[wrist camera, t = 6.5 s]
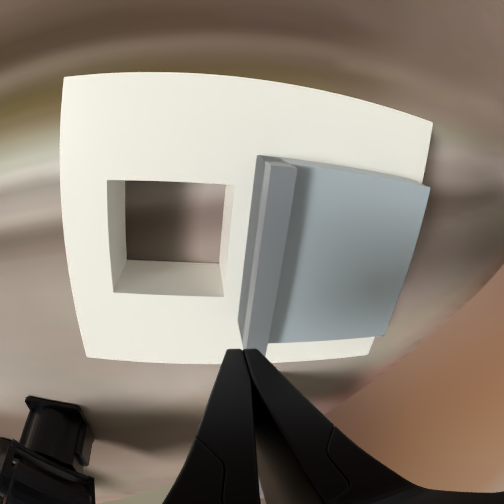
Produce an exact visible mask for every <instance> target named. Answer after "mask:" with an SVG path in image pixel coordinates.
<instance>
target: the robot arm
mask: <svg viewBox="0 0 504 504" xmlns="http://www.w3.org/2000/svg"><path fill="white" fill-rule="evenodd" d="M25 402H26V404H27V406H28V408H29V409H30V412H29V414H28V417H27V420H26V423H25V426H24V429H23V432H22V435H21V438H20V441H19V443H18V441H16V440H14V439H13V441H12V443H11V442H7V441H4V444H3V447H2V450H1V453H0V495H1V496H3V497H4V501H3V504H95V486H94V478H93V477H90V476H86V475H83V468H84V466H88V465H89V460H90V454H91V448H92V443H93V442H94V438H93V437H94V436H93V434H92V431H91V429H90V427H89V425H88V423H87V422H86V420H85V418H84V416H83V413H82V411H81V409H80V408H79V407H78V406H74V405H68V404H62V403H57V402H52V401H46V400H41V399H37V398H32V397H26V399H25ZM333 426H334V425H333V423H331V422H330V421H329V420H328V419H327V418H326V417H325V416H324V415H323V414H322V413H321V412H320V411H319V410H318V409H317V408H316V407H315V406H314V405H313V404H312V403H311V402H310V401H309V400H308V399H307V398H305V397H304V396H303V395H302V394H301V393H300V392H299V391H298V390H297V389H296V388H295V387H294V386H293V385H292V384H291V383H290V382H289V381H288V380H287V379H286V378H285V377H284V376H283V375H282V374H281V373H280V372H279V371H278V370H277V369H276V367H275V366H274V365H273V364H272V363H271V362H270V361H269V360H268V359H267V358H266V357H265V356H264V355H263V354H262V353H261V352H260V351H259V350H258V349H256V348H247V349H243V350H241V349H227V350H226V353H225V355H224V358H223V361H222V364H221V367H220V369H219V372H218V375H217V378H216V380H215V383H214V386H213V389H212V392H211V394H210V397H209V400H208V403H207V405H206V408H205V411H204V414H203V417H202V419H201V422H200V425H199V428H198V430H197V433H196V436H195V439H194V441H193V443H192V446H191V449H190V451H189V454H188V456H187V459H186V461H185V463H184V466H183V468H182V470H181V472H180V473H179V475H178V477H177V479H176V481H175V483H174V485H173V486H172V488H171V490H170V492H169V493H168V495H167V497H166V498H165V500H164V502H163V503H162V504H261V503H260V490H259V480H260V484H261V487H262V491H263V494H264V498H265V501H266V504H504V491H503V492H496V493H473V492H455V491H442V490H432V489H427V488H423V487H420V486H417V485H415V484H413V483H411V482H409V481H408V480H406V479H404V478H402V477H401V476H400V475H398V474H397V473H395V472H394V471H392V470H391V469H389V468H388V467H386V466H385V465H383V464H382V463H380V462H379V461H378V460H376V459H375V458H373V457H372V456H370V455H369V454H368V453H366V452H365V451H364V450H362V449H361V448H360V447H358V446H357V445H356V444H355V443H354V442H353V441H351V440H350V439H349V438H348V437H347V436H346V435H344V434H343V433H342V432H341V431H340V430H339V429H338V428H337V427H336V426H334V427H333ZM13 461H14V462H16V463H15V464H14V463H13ZM258 477H259V478H258Z"/></svg>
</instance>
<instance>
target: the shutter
mask: <svg viewBox="0 0 504 504" xmlns="http://www.w3.org/2000/svg"><path fill="white" fill-rule="evenodd" d="M430 188H431V187H428V186H426V185H424V184H421V183H419V182H417V181H414V180H412V179H409V178H405V177H400V176H396V175H390V174H385V173H380V172H375V171H369V170H364V169H358V168H352V167H346V166H340V165H333V164H327V163H320V162H313V161H305V160H298V159H290V158H281V157H272V156H263V155H257V158H256V166H255V174H254V183H253V191H252V200H251V208H250V216H249V225H248V233H247V242H246V251H245V259H244V268H243V277H242V285H241V294H240V303H239V312H238V320H237V321H238V326H239V331H240V335H241V340H242V345H243V349H247V348H256V349H258V350H259V351H260V352H261V353H262V354H263V355H264V356H265V355H266V350H267V345H268V343H294V342H313V341H329V340H343V339H355V338H366V337H376V336H384V334H385V331H386V329H387V326H388V324H389V321H390V319H391V316H392V314H393V311H394V308H395V306H396V303H397V300H398V298H399V295H400V292H401V289H402V286H403V283H404V280H405V277H406V274H407V271H408V268H409V265H410V262H411V259H412V256H413V252H414V249H415V246H416V242H417V239H418V235H419V232H420V228H421V224H422V221H423V217H424V213H425V209H426V205H427V201H428V197H429V192H430Z"/></svg>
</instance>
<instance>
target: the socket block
mask: <svg viewBox="0 0 504 504" xmlns="http://www.w3.org/2000/svg"><path fill="white" fill-rule="evenodd" d="M432 125H433V122H430V121H427V120H424V119H422V118H419V117H416V116H413V115H410V114H407V113H404V112H401V111H398V110H395V109H391V108H388V107H385V106H381V105H378V104H375V103H371V102H367V101H364V100H360V99H356V98H352V97H348V96H344V95H340V94H336V93H331V92H327V91H322V90H317V89H313V88H308V87H302V86H297V85H291V84H285V83H279V82H273V81H266V80H259V79H251V78H243V77H234V76H223V75H211V74H196V73H173V72H129V73H106V74H92V75H80V76H71V77H64V83H63V93H62V106H61V124H60V187H61V205H62V218H63V229H64V239H65V248H66V255H67V263H68V269H69V276H70V282H71V288H72V293H73V299H74V304H75V309H76V314H77V318H78V323H79V327H80V332H81V336H82V340H83V344H84V348H85V352H86V356H87V357H91V358H101V359H111V360H123V361H137V362H155V363H179V364H222V361H223V358H224V355H225V353H226V350H227V349H241V350H243V345H242V340H241V335H240V331H239V326H238V321H237V320H238V312H239V303H240V294H241V285H242V277H243V268H244V259H245V251H246V242H247V233H248V225H249V216H250V208H251V200H252V191H253V183H254V174H255V166H256V158H257V155H263V156H272V157H281V158H290V159H298V160H305V161H313V162H320V163H327V164H333V165H340V166H346V167H352V168H358V169H364V170H369V171H375V172H380V173H385V174H390V175H396V176H400V177H405V178H409V179H412V180H414V181H417V182H419V183H421V184H422V181H423V176H424V171H425V166H426V161H427V156H428V150H429V144H430V138H431V132H432ZM125 180H138V181H171V182H194V183H212V184H226V190H225V200H224V211H223V223H222V234H221V246H220V259H219V263H193V262H167V261H143V260H127V252H126V227H125ZM374 338H375V337H366V338H355V339H343V340H329V341H313V342H294V343H268V345H267V350H266V355H265V357H266V358H267V359H268V360H269V361H270V362H271V363H278V362H296V361H310V360H322V359H333V358H343V357H353V356H361V355H368V353H369V350H370V348H371V345H372V343H373V340H374Z"/></svg>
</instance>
